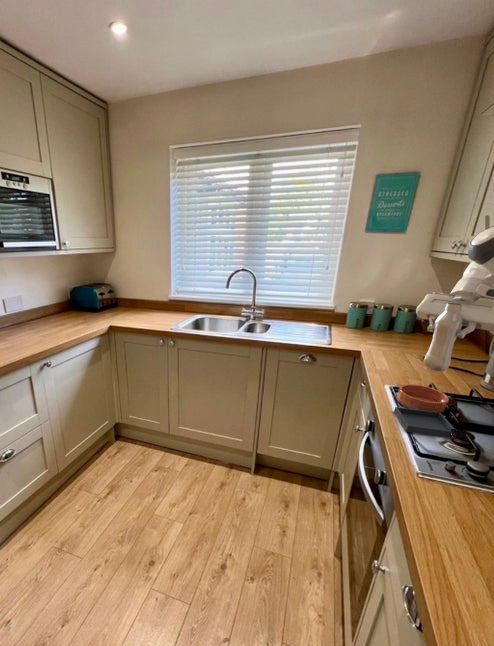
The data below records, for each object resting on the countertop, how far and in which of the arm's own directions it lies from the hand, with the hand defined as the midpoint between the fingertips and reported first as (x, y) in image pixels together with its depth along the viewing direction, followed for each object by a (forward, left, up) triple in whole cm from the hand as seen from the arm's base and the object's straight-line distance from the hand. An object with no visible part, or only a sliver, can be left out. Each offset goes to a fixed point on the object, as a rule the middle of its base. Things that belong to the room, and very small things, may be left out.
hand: (444, 333), depth 96 cm
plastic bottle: (-1, 0, -12) cm, 12 cm away
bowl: (-1, -3, -25) cm, 25 cm away
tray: (+3, +11, -25) cm, 27 cm away
